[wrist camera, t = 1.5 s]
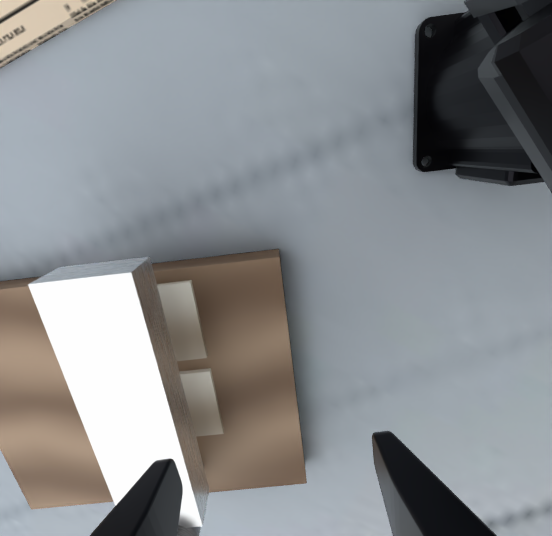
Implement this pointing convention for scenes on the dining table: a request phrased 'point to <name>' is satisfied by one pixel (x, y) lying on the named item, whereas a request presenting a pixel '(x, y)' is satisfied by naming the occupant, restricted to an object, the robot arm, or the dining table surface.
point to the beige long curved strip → (38, 22)
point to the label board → (194, 374)
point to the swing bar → (123, 375)
